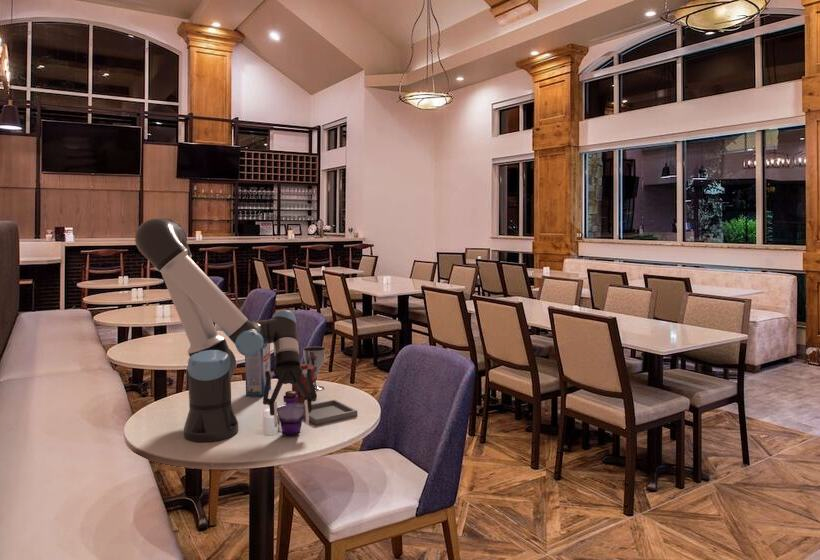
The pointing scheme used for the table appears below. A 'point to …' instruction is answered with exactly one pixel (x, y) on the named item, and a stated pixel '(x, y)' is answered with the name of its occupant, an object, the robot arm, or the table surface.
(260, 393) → the milk carton
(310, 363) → the wine glass
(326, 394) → the table surface
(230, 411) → the robot arm
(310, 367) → the mechanical component
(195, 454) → the table surface
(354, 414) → the charcoal tray
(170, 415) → the table surface
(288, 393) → the potion bottle
